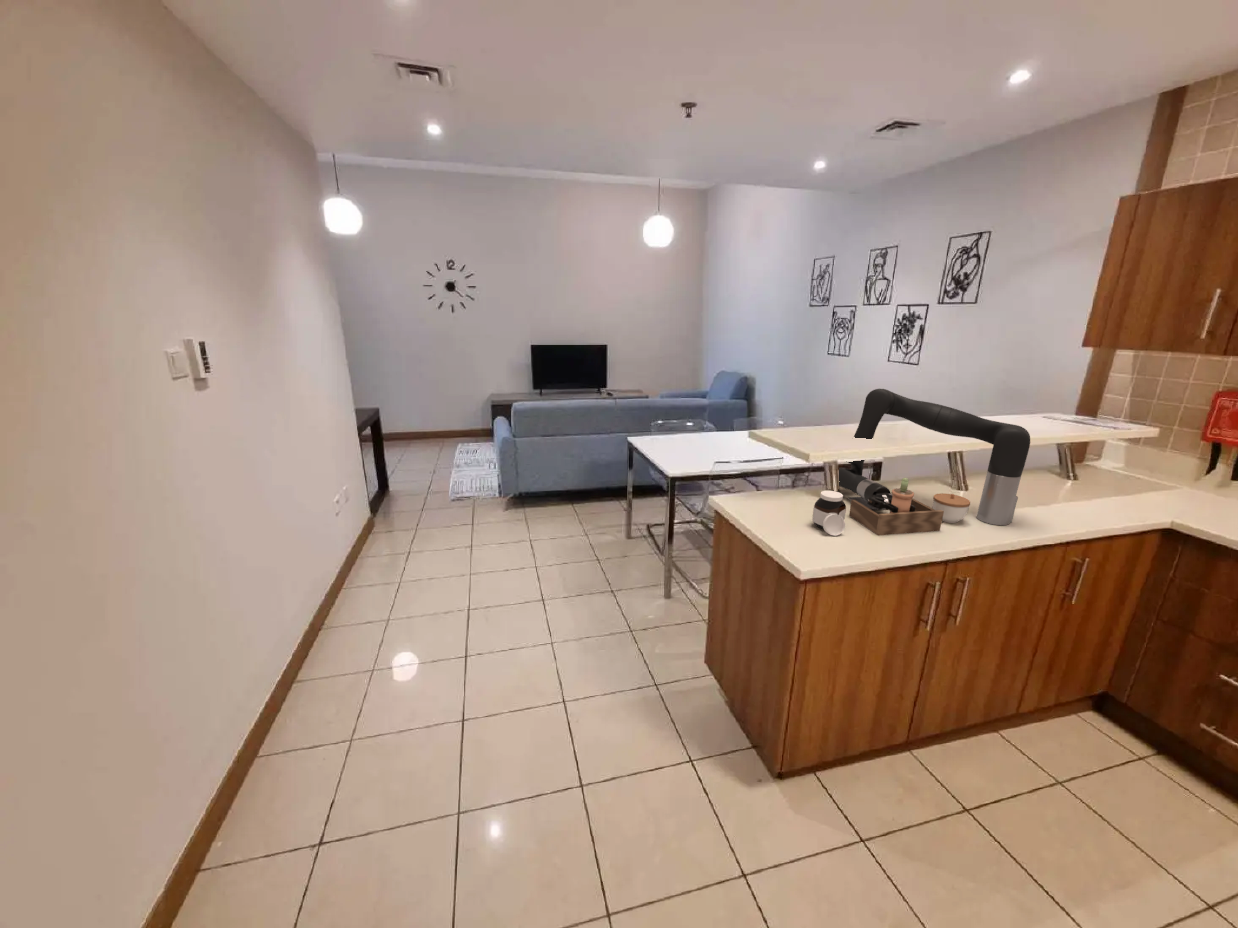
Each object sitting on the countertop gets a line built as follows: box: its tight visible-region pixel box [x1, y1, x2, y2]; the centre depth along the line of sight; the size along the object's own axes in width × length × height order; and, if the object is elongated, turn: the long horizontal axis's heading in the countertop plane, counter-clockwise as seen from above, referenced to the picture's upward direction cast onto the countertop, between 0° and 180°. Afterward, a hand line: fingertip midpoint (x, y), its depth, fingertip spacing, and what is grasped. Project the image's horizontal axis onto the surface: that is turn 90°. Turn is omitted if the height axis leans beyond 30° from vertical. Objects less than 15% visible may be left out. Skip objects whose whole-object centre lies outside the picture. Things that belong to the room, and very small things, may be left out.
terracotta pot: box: [889, 477, 915, 513], centre depth 166 cm, size 6×6×17 cm
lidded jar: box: [931, 492, 971, 524], centre depth 173 cm, size 11×11×9 cm
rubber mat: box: [847, 496, 886, 512], centre depth 187 cm, size 14×12×1 cm
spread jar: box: [811, 490, 847, 537], centre depth 165 cm, size 12×11×12 cm
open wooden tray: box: [848, 497, 944, 536], centre depth 170 cm, size 22×16×7 cm
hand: (905, 510), depth 165 cm, fingers closed on terracotta pot, 5 cm apart
